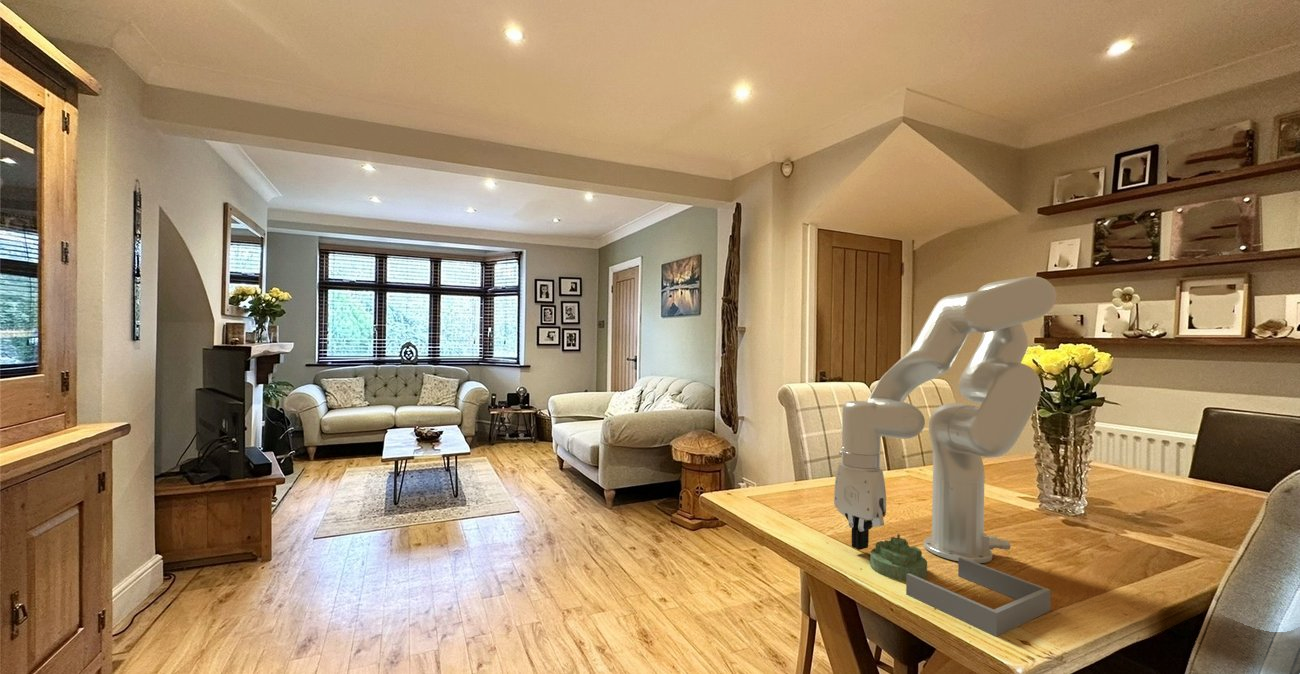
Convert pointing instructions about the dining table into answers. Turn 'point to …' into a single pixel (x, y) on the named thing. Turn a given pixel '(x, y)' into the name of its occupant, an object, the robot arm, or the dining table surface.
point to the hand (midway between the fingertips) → (859, 547)
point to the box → (993, 621)
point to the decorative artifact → (898, 559)
